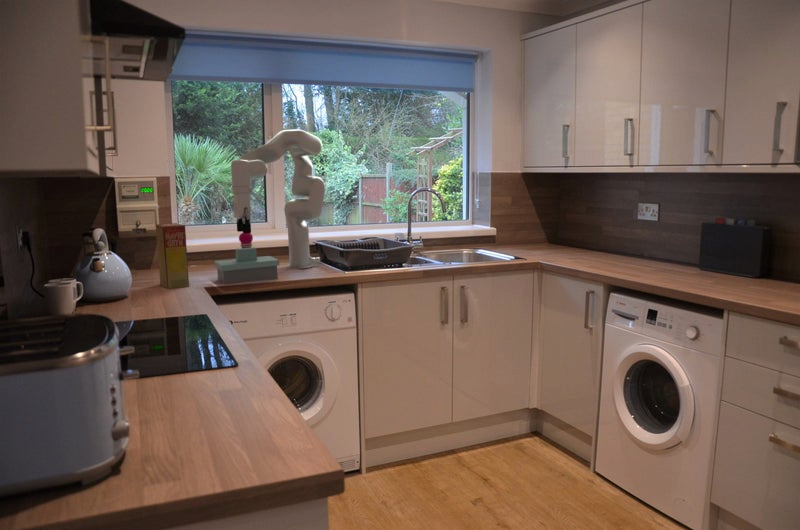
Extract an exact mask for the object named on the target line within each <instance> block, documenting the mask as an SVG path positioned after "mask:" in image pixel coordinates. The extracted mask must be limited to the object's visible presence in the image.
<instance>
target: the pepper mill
mask: <svg viewBox="0 0 800 530" xmlns="http://www.w3.org/2000/svg"><path fill="white" fill-rule="evenodd" d="M253 239H254V238H253V235H252V233H246V234H244V233H243V232H241V233H240V234H239V236H238V241H239V242H240V248H252V247H253V243H252V241H253Z"/></svg>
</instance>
